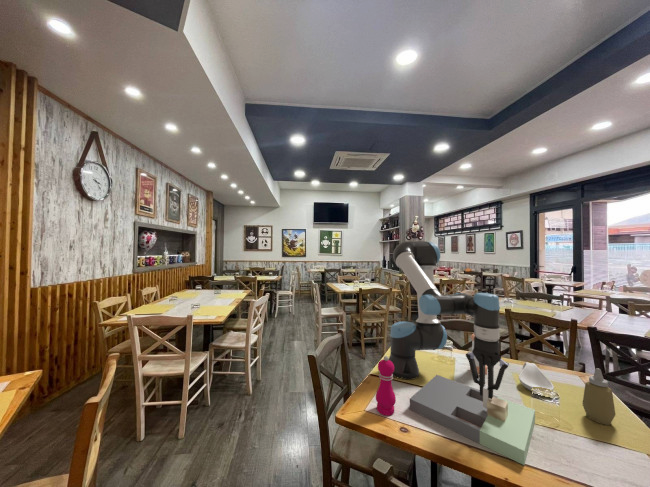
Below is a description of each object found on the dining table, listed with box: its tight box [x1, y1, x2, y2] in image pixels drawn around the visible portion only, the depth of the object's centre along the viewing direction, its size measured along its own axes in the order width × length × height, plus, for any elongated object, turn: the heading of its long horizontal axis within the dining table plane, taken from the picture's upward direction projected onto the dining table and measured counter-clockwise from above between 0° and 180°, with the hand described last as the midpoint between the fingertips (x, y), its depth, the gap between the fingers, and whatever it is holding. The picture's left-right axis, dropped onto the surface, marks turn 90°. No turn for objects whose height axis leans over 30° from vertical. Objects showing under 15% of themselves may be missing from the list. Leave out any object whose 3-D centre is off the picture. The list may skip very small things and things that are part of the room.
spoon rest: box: [518, 361, 555, 392], centre depth 115 cm, size 24×12×7 cm, turn 151°
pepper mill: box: [375, 355, 397, 416], centre depth 94 cm, size 7×7×20 cm
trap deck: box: [409, 374, 536, 466], centre depth 92 cm, size 34×26×4 cm
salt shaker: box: [469, 333, 488, 376], centre depth 125 cm, size 7×7×19 cm
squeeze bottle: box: [582, 367, 616, 426], centre depth 91 cm, size 8×8×18 cm
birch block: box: [487, 397, 508, 422], centre depth 86 cm, size 5×5×4 cm
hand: (486, 406), depth 88 cm, fingers closed
